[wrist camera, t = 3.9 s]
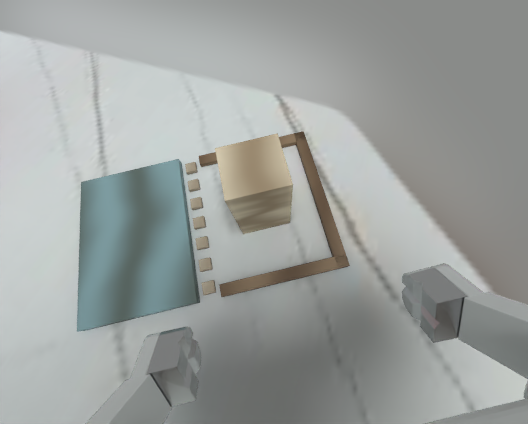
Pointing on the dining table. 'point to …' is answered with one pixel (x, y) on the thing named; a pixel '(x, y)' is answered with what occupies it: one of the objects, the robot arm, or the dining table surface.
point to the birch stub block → (256, 183)
